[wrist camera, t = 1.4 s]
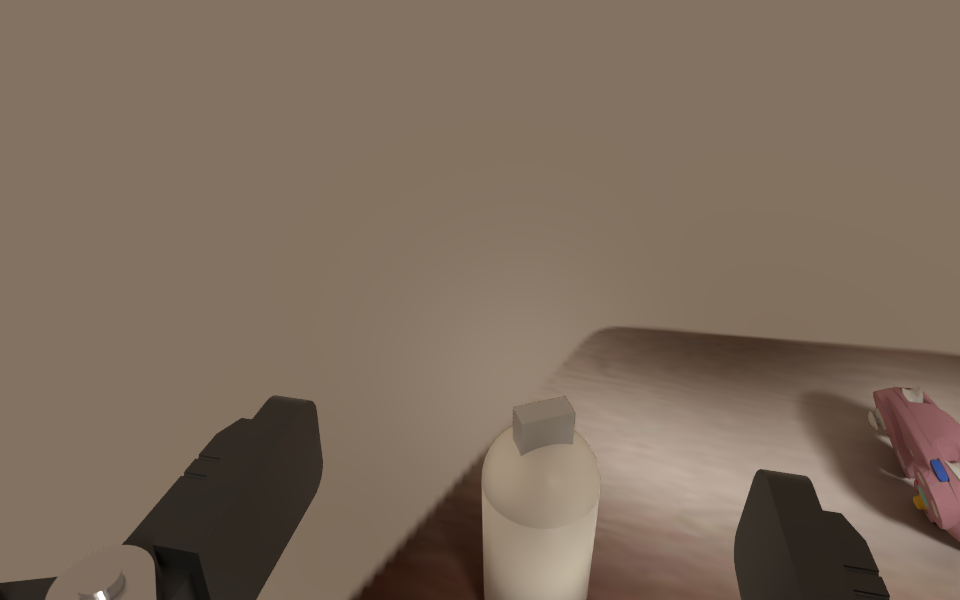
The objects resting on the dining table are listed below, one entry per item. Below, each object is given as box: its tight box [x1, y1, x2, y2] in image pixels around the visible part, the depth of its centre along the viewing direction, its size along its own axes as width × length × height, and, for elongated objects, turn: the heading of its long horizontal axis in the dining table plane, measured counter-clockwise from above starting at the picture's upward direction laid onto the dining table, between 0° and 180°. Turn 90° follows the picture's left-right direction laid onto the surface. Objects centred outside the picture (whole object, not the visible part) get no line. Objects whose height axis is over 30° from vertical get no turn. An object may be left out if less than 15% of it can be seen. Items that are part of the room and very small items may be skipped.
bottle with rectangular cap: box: [482, 396, 601, 600], centre depth 28 cm, size 5×5×13 cm
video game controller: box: [868, 386, 960, 542], centre depth 35 cm, size 10×5×7 cm
